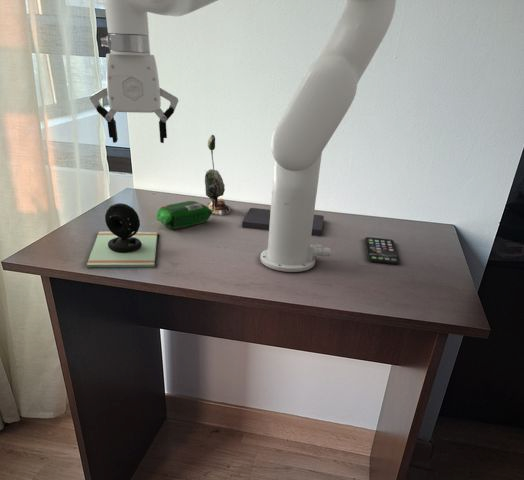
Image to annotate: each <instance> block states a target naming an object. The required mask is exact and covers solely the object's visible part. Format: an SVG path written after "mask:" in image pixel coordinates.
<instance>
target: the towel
mask: <svg viewBox="0 0 524 480" xmlns="http://www.w3.org/2000/svg"><path fill="white" fill-rule="evenodd" d="M133 233H134V232H133ZM131 234H132V233H131ZM117 237H118V236H116V235H114V234H113V233H112V232H111V231H98V233H97V236H96V239H95V242H94V244H93V247H92V249H91V251H90V255H89V258H88V260H87V262H86V268H155V266H156V256H157V255H156V253H157V245H158V244H157V243H158V232H157V231H137V233H136V234H135V235H134V236H132V237H134V238H137V239H139V240H140V241H141V243H142V246H141V248H140V249H138V250H136V251H133V252H127V253H119V252H114V251H112V250H111V249H109V247H108V242H109V241H110V240H111V239H113V238H117ZM131 245H134V244H133V243H129V244H128V246H131Z"/></svg>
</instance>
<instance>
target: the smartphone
mask: <svg viewBox="0 0 524 480" xmlns="http://www.w3.org/2000/svg"><path fill="white" fill-rule="evenodd" d="M364 243H365V249H366V254H367V260H368V261H369V262H370V263H381V264H390V265H399V264H400V261H401V260H400V258H399V255H398V251H397V248H396V244H395V241H394V240H393V239H389V238H381V237H380V238H379V237H370V236H369V237H368V236H367V237H365V238H364Z"/></svg>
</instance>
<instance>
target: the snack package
mask: <svg viewBox="0 0 524 480" xmlns="http://www.w3.org/2000/svg"><path fill="white" fill-rule="evenodd" d="M211 215H213V214H212V210H211V209H209V208H208V207H207V205H205V204H203V203H200V202H198V201H195V200H187V201H182V202H176V203H170V204H166V205H163V206H161V207H159V209H158V210H157V213H156V220H157V222H160V223H161V224H162V225H163V226H165V227H167V228H169V229H171V230H179V229H182V228H187V227H192V226H196V225H199V224H204V223H205V222H207V220H208V219H210V217H211Z"/></svg>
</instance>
